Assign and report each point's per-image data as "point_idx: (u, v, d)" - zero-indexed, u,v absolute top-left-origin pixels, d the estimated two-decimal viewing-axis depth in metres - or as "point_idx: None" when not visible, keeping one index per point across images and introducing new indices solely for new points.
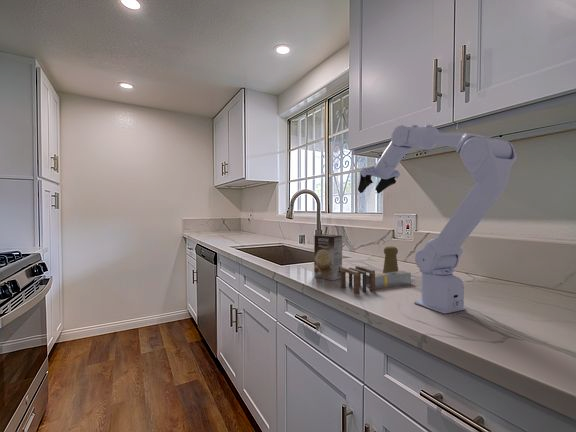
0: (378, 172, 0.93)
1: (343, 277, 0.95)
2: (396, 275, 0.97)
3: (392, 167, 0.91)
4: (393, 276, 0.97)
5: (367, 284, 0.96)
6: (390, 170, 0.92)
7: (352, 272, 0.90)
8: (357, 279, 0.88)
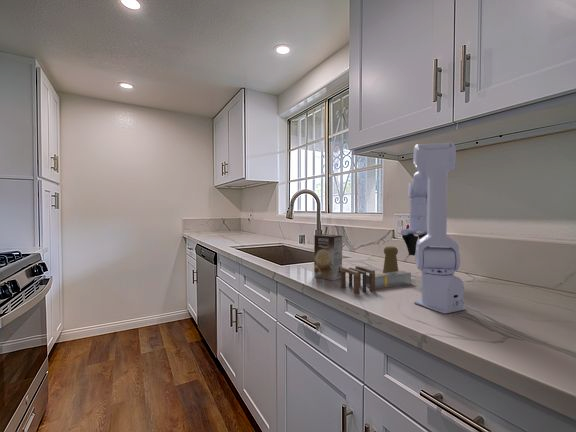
0: (415, 228, 1.01)
1: (343, 277, 0.95)
2: (396, 275, 0.97)
3: (424, 217, 1.01)
4: (393, 276, 0.97)
5: (367, 284, 0.96)
6: (424, 221, 1.01)
7: (352, 272, 0.90)
8: (357, 279, 0.88)
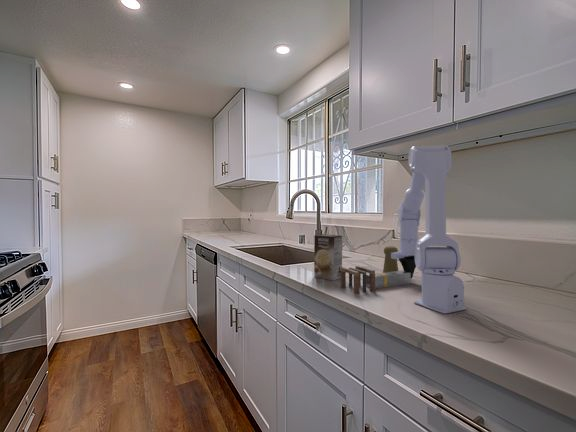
0: (406, 251, 1.00)
1: (343, 277, 0.95)
2: (396, 275, 0.97)
3: (414, 241, 0.99)
4: (393, 276, 0.97)
5: (367, 284, 0.96)
6: (414, 244, 0.99)
7: (352, 272, 0.90)
8: (357, 279, 0.88)
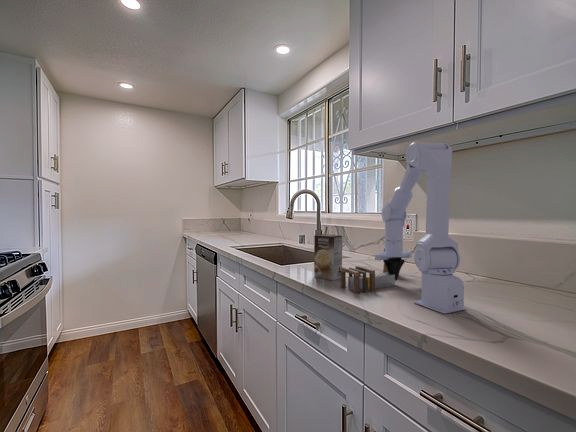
0: (390, 253, 0.97)
1: (343, 277, 0.95)
2: (379, 277, 0.95)
3: (399, 242, 0.97)
4: (376, 278, 0.94)
5: (349, 286, 0.94)
6: (399, 245, 0.97)
7: (352, 272, 0.90)
8: (357, 279, 0.88)
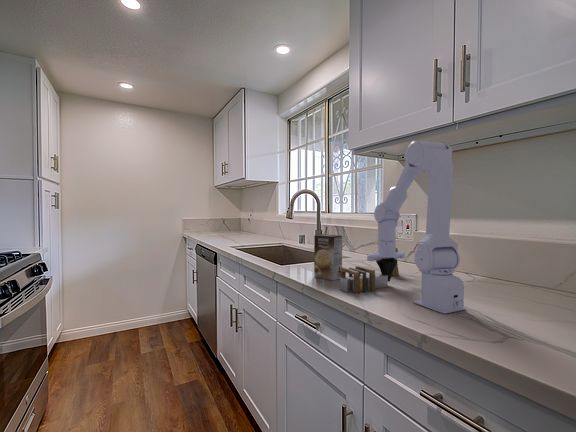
0: (383, 253, 0.96)
1: None
2: None
3: (392, 242, 0.95)
4: (368, 279, 0.93)
5: (341, 287, 0.92)
6: (392, 246, 0.95)
7: (352, 272, 0.90)
8: (357, 279, 0.88)
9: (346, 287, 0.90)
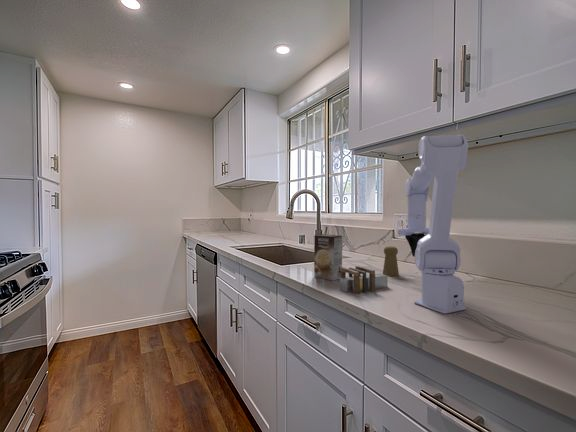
0: (413, 228, 0.94)
1: None
2: None
3: (423, 216, 0.94)
4: (368, 279, 0.93)
5: (341, 287, 0.92)
6: (423, 220, 0.94)
7: (352, 272, 0.90)
8: (357, 279, 0.88)
9: (346, 287, 0.90)
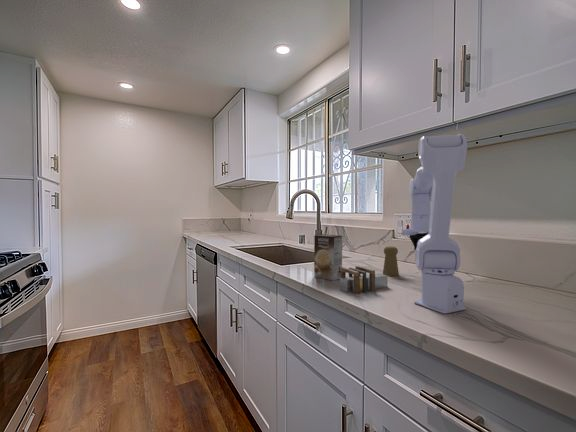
0: (417, 228, 0.94)
1: (343, 277, 0.95)
2: None
3: (427, 216, 0.93)
4: (368, 279, 0.93)
5: (341, 287, 0.92)
6: (427, 220, 0.93)
7: (352, 272, 0.90)
8: (357, 279, 0.88)
9: (346, 287, 0.90)
